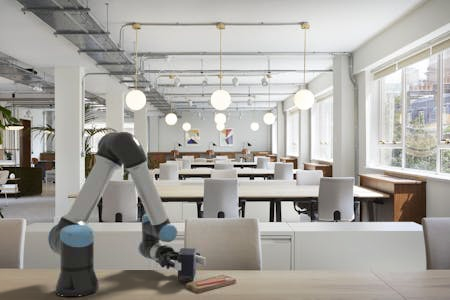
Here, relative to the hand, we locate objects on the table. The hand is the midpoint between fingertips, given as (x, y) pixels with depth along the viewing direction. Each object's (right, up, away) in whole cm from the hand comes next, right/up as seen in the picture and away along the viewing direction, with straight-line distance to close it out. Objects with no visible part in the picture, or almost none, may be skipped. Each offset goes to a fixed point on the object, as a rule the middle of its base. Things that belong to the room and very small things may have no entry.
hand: (193, 264), depth 171 cm
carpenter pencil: (+7, -6, -5) cm, 11 cm away
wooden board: (+7, -7, -2) cm, 11 cm away
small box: (-3, -6, +3) cm, 7 cm away
